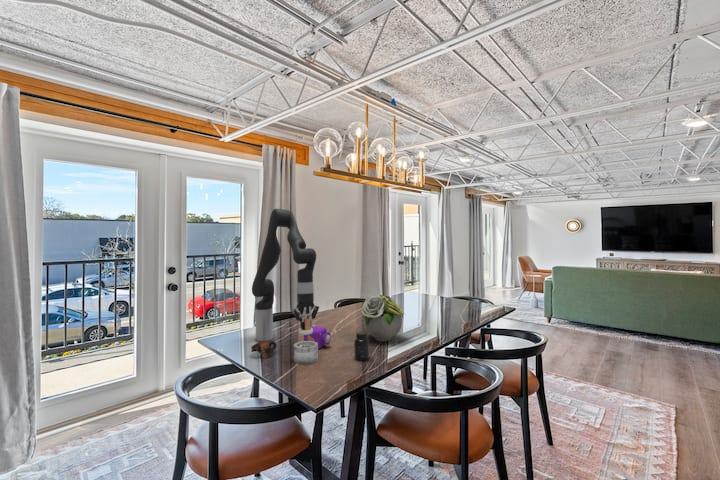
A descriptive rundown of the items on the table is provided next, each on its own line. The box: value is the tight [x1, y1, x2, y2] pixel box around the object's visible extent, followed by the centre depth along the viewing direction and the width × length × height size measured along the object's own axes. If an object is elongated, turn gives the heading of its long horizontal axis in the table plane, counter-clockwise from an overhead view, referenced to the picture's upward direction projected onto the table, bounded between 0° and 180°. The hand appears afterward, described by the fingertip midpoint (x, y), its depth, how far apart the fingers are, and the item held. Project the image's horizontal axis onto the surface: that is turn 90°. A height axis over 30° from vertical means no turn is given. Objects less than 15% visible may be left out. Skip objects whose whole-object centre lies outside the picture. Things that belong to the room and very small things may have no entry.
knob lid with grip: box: [298, 316, 313, 336], centre depth 158 cm, size 6×6×7 cm
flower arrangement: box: [360, 294, 405, 342], centre depth 188 cm, size 25×25×24 cm
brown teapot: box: [250, 340, 277, 360], centre depth 165 cm, size 12×10×8 cm
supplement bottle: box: [353, 331, 370, 362], centre depth 159 cm, size 7×7×12 cm
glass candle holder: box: [293, 340, 319, 365], centre depth 158 cm, size 11×11×7 cm
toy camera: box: [303, 324, 332, 350], centre depth 177 cm, size 11×14×10 cm
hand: (305, 328), depth 158 cm, fingers closed on knob lid with grip, 2 cm apart
